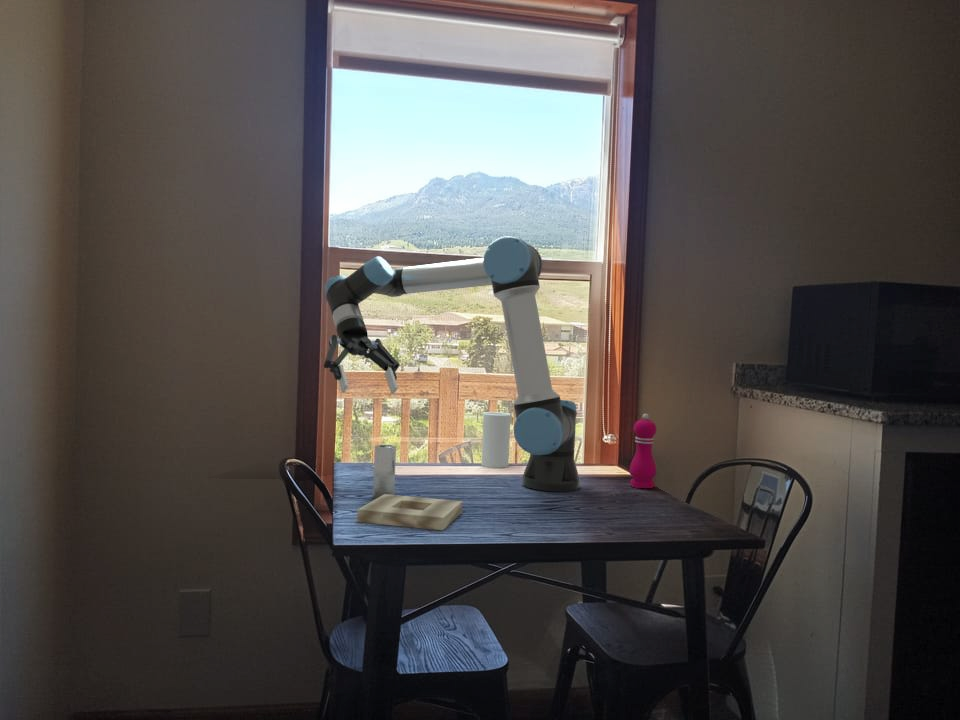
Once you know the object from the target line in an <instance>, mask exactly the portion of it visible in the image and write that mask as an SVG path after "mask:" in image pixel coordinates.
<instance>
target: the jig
mask: <svg viewBox="0 0 960 720" xmlns="http://www.w3.org/2000/svg"><path fill="white" fill-rule="evenodd" d="M356 513H357V514H356V517H357V519H356V522H357V523H366V524H374V525H375V524H377V525H385V526H386V525H388V526H395V527H397V526H398V527H407V528H415V529H416V528H417V529H426V530H435V531H436V530H437V531H444V530H445V529H446V528H447V527H448V526H450V525H451V523H453V522H454V521H455V520H456V519H457V518H458V517H459V516H460V515H461V514H462V513H463V500H454V499H453V500H452V499H445V498H444V499H442V498H441V499H440V498H430V497H419V496H410V495H409V496H408V495H398V494H394V495H389V494H384V495H382V496H380V497H379V498H377V499H376V498H374V499H373V500H372V501H370V502H369V503H367V504H365V505H363V506H361V507H360V508H357V512H356Z"/></svg>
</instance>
